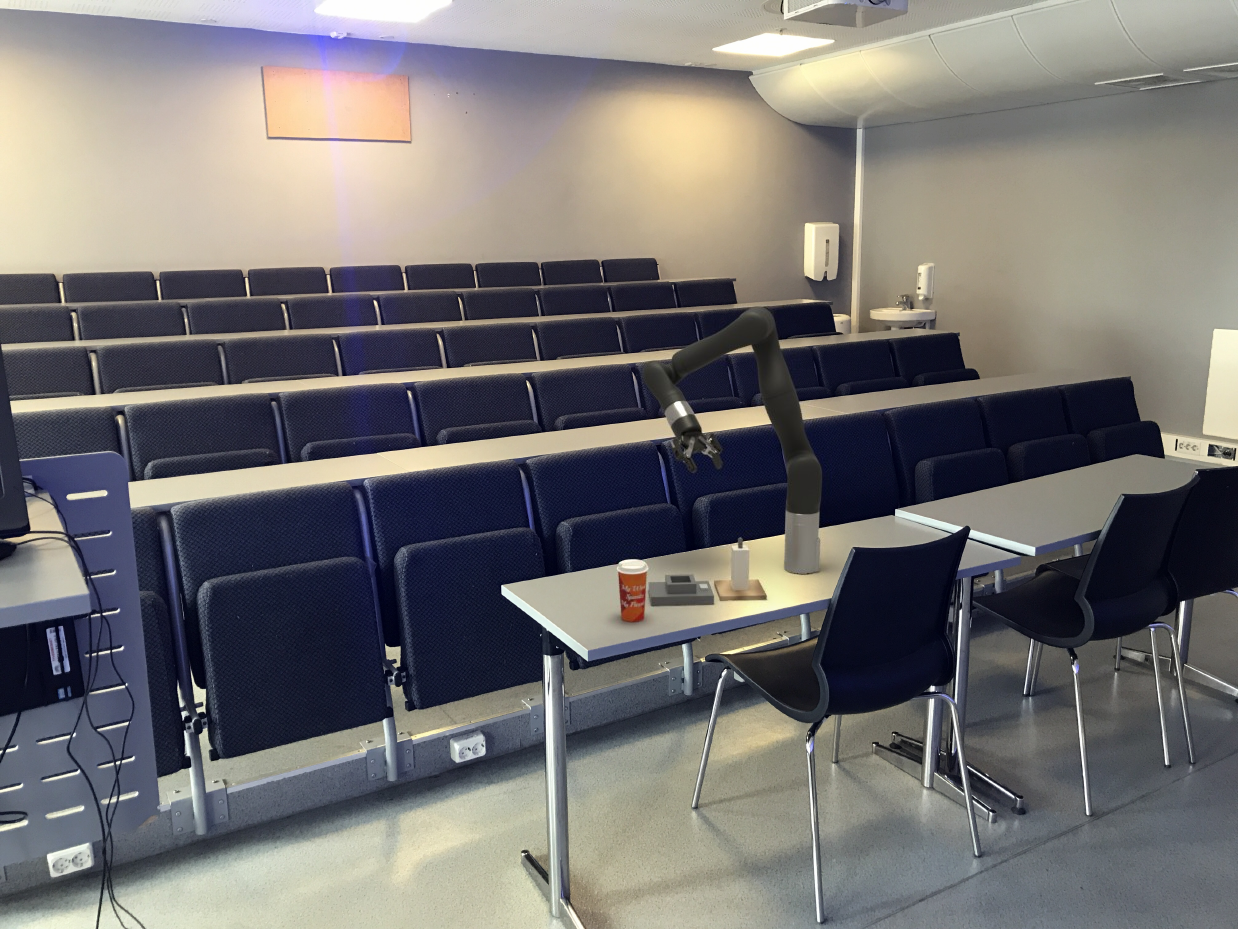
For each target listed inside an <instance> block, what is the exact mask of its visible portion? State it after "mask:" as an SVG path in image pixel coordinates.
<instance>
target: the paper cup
mask: <svg viewBox="0 0 1238 929" xmlns="http://www.w3.org/2000/svg"><path fill="white" fill-rule="evenodd" d="M617 564H618V566H617V567H616V571H617V573H618V575H617V576H618V586H619V587H618V589H619V590H618V592H619V602H620V605H619V606H620V615H621V620H623V621H625V622H629V623H637V622H640V621H641V622H642V621H643V620H644V619H645V610H646V593H647V575H648V570H649V569H650V568H649V566H648V564H647V563H646V562H645V561H643V560H641V559H635V558H634V559H625V560H622V561H620V562H619V563H617Z"/></svg>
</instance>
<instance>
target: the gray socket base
mask: <svg viewBox="0 0 1238 929" xmlns="http://www.w3.org/2000/svg"><path fill="white" fill-rule="evenodd" d="M664 579H665V580H664V581H649V582H648V595H649V600H650V605H651V606H652V607H660V606H661V607H662V606H663V607H664V606H665V607H666V606H702V605H703V606H707V605H711V606H712V605H714V604H715V594H714V592H713V589H712V586H711V584H710V580H696V579H695V576H694V574H693V573H690V574H689V573H687V574H685V573H684V574H682V573H681V574H665V575H664ZM651 606H650V607H651Z"/></svg>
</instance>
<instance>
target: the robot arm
mask: <svg viewBox="0 0 1238 929" xmlns="http://www.w3.org/2000/svg"><path fill="white" fill-rule="evenodd" d="M774 318H775V317H774V316H773V314H772V313H771V312H770V310H768V309H767V308H766V307H763V306H753V307H750V308H748V309H747V310H745V311H744V312H743V313H741V314H740V315H739V317H738V318H736V319H735V320H734V321H733V322H731V323H730V324H728V325H727V326H726V327H725V328H723V329H721V330H720V331H718V332H716V333H714V334H712V335H710V336H708V337H705V338H703V339H701V340H697V341H696V342H693V343H692V344H689V345H688V346H686V347H684V348H682V349H680V350H677V351H676V352H675V353H674V354H673V355H672V357H671V362H669V363H668V364H666V363H663V362H661V361H658V360H650V361H648V362H646V363H645V364H644V366H643V368H642V375H641V376H642V378H643V382H644V384H645V385H646V386H647V388H648V390H649V391H650V393H651V394H652V395H653V396H654V397H655V398H656V400H657V401H658V403H659V405H660V407H661V409H662V411H663V413H664V415H665V417H666V421H667V423H668V425H669V427H670V429H671V431H672V433H673V435H674V437H675V438H673V439H672V441H671V442H670V444H669V446H670V447H671V448H670V449H671V451H672V454H673V455H674V458H675V460H676V462H683V463H684V464H685V465H686V467H687V469H688V471H689V472H690V473H691V474H695V473H696V472H697V471H698V467H697V465H696V463H695V462H694V459H693V458H692V457H691V456H692V455H694V454H696V453H699V454H700V453H702V454H703V455H708V457H710V458H711V461H712V462H713V465H714V467H715V468H716V469H717V470H720V469H721V468H722V467H723V464H724V463H723V460H722V459H721V456H720V454H721V453H722V451H723V450H724V449H723V447H722V445H721V444H720V442H719V440H718V438H717V437H716V435H715V434H714V433H713V432H712V433H710V434H709V435H705V434H704V433H703V430H702V425H701V424H700V422H699V420H698V418H697V417H696V416H697V415H695V412H694V411H693V408H692V407H691V406H690V404H689V403H688V401H687V399H686V397H685V396H684V393H683V392H682V390H681V389H680V388H679V387H678V386H676V385H677V384H679V383H680V382H681V381H683V380H684V379H685V377H687V375H689V374H692V373H694V372H695V371H698V370H699V369H702V368H703V367H705V366H707V365H709V364H711V363H713V362H714V361H716V360H717V359H719V358H721V357H723V356H725V355H727V354H729V353H731V352H735V351H736V350H740V349H743V348H746V347H750V346H751V348H752V351H753V353H754V356H755V360H756V364H757V375H758V386H759V393H760V396H761V400H762V403H763V406H764V409H765V411H766V414H767V417H768V418H769V421H770V423H771V425H772V427H773V429H774V431H775V433H776V435H777V437H778V439H779V443H780V445H781V449H782V454H783V458H784V463H785V470H786V474H787V487H786V488H787V489H786V490H787V491H786V500H785V522H784V523H785V525H784V526H785V527H784V530H785V531H784V555H783V556H784V557H783V558H784V559H783V568H784V570H785V571H786V572H789V573H792V574H797V573H798V574H799V575H806V574H807V573H809V574H813V573H820V561H821V558H820V557H821V556H820V555H821V538H820V537H819V531H820V527H819V526H820V509H821V508H820V506H821V503H822V502H821V501H822V487H823V486H822V484H823V471H822V470H823V469H822V467H821V464H820V462H819V460H818V458H817V456H816V455H815V452H814V451H813V448H812V446H811V443H810V441H809V440H808V437H807V434H806V430H805V426H804V425H805V424H804V418H803V413H802V409H801V408H802V407H801V404H800V400H799V397H798V395H797V394H798V393H797V391H796V388H795V385H794V382H793V380H792V377H791V375H790V371H789V368H788V366H787V363H786V361H785V358H784V356H783V353H782V349H781V345H780V341H779V336H778V332H777V327H776V326H777V325H776V322H775V319H774ZM706 447H707V448H706ZM683 449H684V451H683ZM807 575H808V574H807Z"/></svg>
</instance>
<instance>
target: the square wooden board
mask: <svg viewBox="0 0 1238 929" xmlns="http://www.w3.org/2000/svg"><path fill="white" fill-rule="evenodd" d="M713 584H714V588H715V591H716V593H717V596H718V598H719V601H720V602H723V601H728V600H732V601H761V600H762V601H767V600H768V596H767V593H766V591H765V589H764V588H763V585H762V584H761V581H760V580H759V578H758V579H749V589H748V590H733V589H732V587H731V579H721V580H720V579H718V580H715V579H714V580H713Z"/></svg>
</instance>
